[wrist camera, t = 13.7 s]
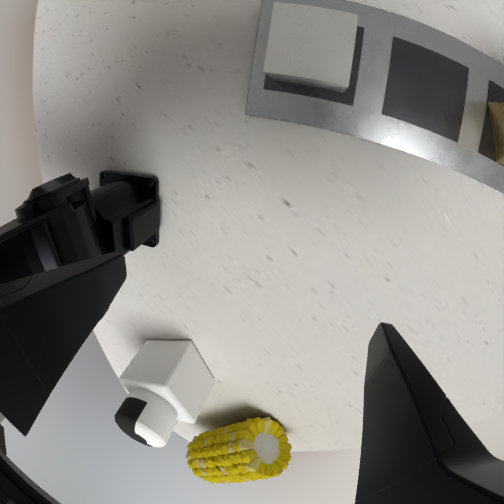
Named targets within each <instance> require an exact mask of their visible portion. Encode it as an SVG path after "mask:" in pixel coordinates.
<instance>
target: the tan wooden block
mask: <svg viewBox="0 0 504 504" xmlns="http://www.w3.org/2000/svg"><path fill="white" fill-rule="evenodd" d="M488 107H489V112H490V118H491V124H492V131H493V138H494V147H495V157H496V162H498V163H500V164H503V165H504V103H502V102H488Z"/></svg>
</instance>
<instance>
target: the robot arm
mask: <svg viewBox="0 0 504 504" xmlns="http://www.w3.org/2000/svg"><path fill="white" fill-rule="evenodd" d="M104 175H105V177H104ZM151 181H152V182H153V185H152V184H151ZM158 184H159V183H158V180H157V178H156V177H152V176H145V175H138V174H131V173H123V172H116V171H108V170H104V171H102V172H101V173H100V187H98V188H96V189H94V190H92V191H90V190H89V186H88V185H89V180H88V178H84V179H81V180H80V178H75V177H74V176H73V175H72V174H71V173H69V174H66V175H63V176H61V177H58V178H56V179H53V180H51V181H49V182H46V183H44V184H42V185H40V186H38V187H36V188H34V189H32V191H31V193H30V196H29V198H28V199H27V200H26V201H24V202H23V204H22V205H21V206H19V207H18V208H17V209H15V211H16V215H17V218H16V219H14V220H12V221H11V222H9V223H7V224H5V225H3V226H1V227H0V423H1V422H2V421H3V419H4V418H5V417H6V418H7V420H9V422H11V423H12V425H14V426H15V427H16V428H17V429H18V430H19V431H20V432H21V433H22V434H23V435H24V436H26V435H27V434H28V432H29V430H30V428H31V427H32V425H33V423H34V421H35V420H36V418H37V416H38V414H39V412H40V410H41V409H42V407H43V406H44V404H45V402H46V401H47V399H48V397H49V396H50V394H51V392H52V390H53V389H54V387H55V386H56V384H57V382H58V381H59V379H60V378H61V376H62V375H63V373H64V371H65V370H66V368H67V367H68V365H69V363H70V362H71V361H72V359H73V358H74V356H75V355H76V353H77V352H78V350H79V349H80V347H81V346H82V344H83V343H84V342H85V340H86V339H87V337H88V336H89V334H90V333H91V332H92V330H93V329H94V327H95V326H96V325H97V323H98V322H99V321H100V320H101V319H102V318H103V316H104V315H105V313H106V312H107V311H108V309H109V306H110V304H111V303H112V301H113V299H114V298H115V296H116V294H117V293H118V291H119V289H120V288H121V286H122V284H123V283H124V281H125V279H126V276H127V272H126V263H125V257H124V255H125V254H126V253H128V252H129V251H134V250H135V249H136V248H138V247H139V246H140V245H141V244H142V245H146V246H149V247H155V246H157V245H158V242H159V237H158V231H159V203H158ZM152 240H153V241H154V243H153V242H152ZM355 501H356V502H355V504H504V461H503V460H500V459H498V458H496V457H494V456H493V455H492V454H491V453H490V452H489V451H488V450H487V449H486V447H485V446H484V445H483V444H482V442H481V441H480V440H479V438H478V437H477V436H476V435H475V433H474V432H473V431H472V430H471V429H470V427H469V426H468V425H467V423H466V422H465V421H464V419H463V418H462V417H461V416H460V414H459V413H458V411H457V410H456V409H455V407H454V406H453V405H452V403H451V402H450V400H449V399H448V398H447V397H446V395H445V393H444V392H443V390H442V389H441V388H440V386H439V385H438V384H437V382H436V381H435V379H434V378H433V377H432V375H431V374H430V373H429V371H428V370H427V369H426V367H425V366H424V365H423V363H422V362H421V361H420V359H419V358H418V357H417V355H416V354H415V353H414V352H413V350H412V349H411V348H410V346H409V345H408V344H407V343H406V341H405V340H404V339H403V337H402V336H401V335H400V334H399V332H398V331H397V330H396V329H395V327H394V326H393V325H392V324H388V323H383V322H382V323H380V324H379V325H378V327H377V329H376V330H375V332H374V334H373V336H372V338H371V340H370V342H369V346H368V357H367V366H366V375H365V384H364V411H363V431H362V446H361V458H360V468H359V477H358V485H357V492H356V499H355ZM0 504H60V503H59V502H58V501H57V500H55V499H54V498H53V497H51V496H50V495H49V494H48V493H46V492H45V491H44V490H43V489H41V488H40V487H39V486H38V485H37V484H36V483H34V482H33V481H32V480H31V479H30V478H29V477H28V476H27V475H25V474H24V473H23V472H22V471H21V470H20V469H19V468H18V467H17V466H16V465H15V464H14V463H13V462H12V461H10V459H9V458H8V457H7V456H6V446H5V436H4V427H3V426H2V425H1V424H0Z"/></svg>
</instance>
